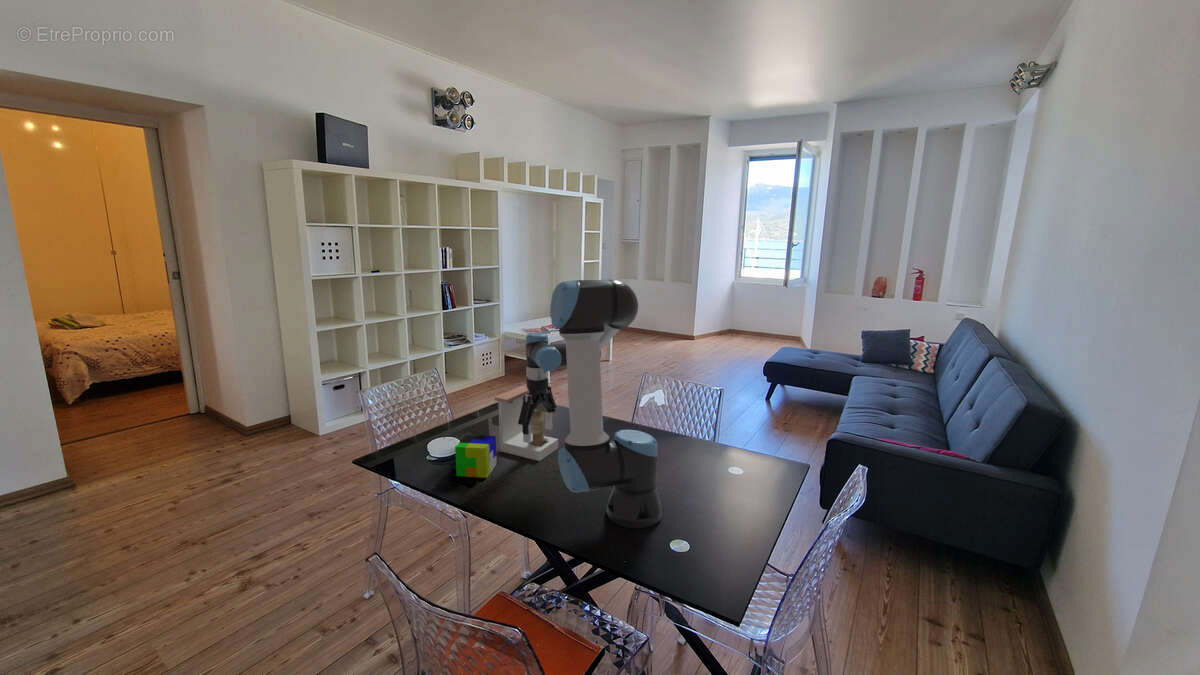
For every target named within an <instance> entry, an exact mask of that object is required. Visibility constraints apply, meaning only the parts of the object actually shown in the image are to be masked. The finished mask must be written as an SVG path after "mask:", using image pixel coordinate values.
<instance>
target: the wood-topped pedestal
mask: <svg viewBox="0 0 1200 675" xmlns="http://www.w3.org/2000/svg"><path fill="white" fill-rule="evenodd" d="M529 393H530V391H529V390H528V389H527V385H520V386H518V387H515V388H513V389H511V390H508V391H506V392H503V393H501V394H499V395H496V396H495V397H494V401H495V402H498V404H497V405H498V425H499V426H498V427H499V428H498V430H499V432H498V433H499V443H500V442H502V443H503V442H505V441H507V440H509V439H511V438H512V437H514V436H516V435H518V434H519V433H521V432H523V426H522V425H520V424H518V421H519V417H520V413H521V409H522V405H523V397H524V395H526V396H528V395H529Z"/></svg>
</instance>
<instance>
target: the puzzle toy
mask: <svg viewBox="0 0 1200 675" xmlns="http://www.w3.org/2000/svg"><path fill="white" fill-rule="evenodd" d="M496 437H497V436H496V435H483V434H482V435H481V434H479V435H478V434H466V435H465V436H464V437H463V438H462V439H461V440H460V441H459V442H458V443H457V444H456V445H455V447H454V450H455V452H454V454H455V470H456V472H455V473H456V477H465V478H466V477H467V478H481V479H482V478H483V479H487V478H488V477H489V476H490V474H491V472H493V470H494V468H495V467H496V465H497V438H496Z"/></svg>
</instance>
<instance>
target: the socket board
mask: <svg viewBox="0 0 1200 675" xmlns="http://www.w3.org/2000/svg"><path fill="white" fill-rule="evenodd" d="M558 449H559V438H554V437H550V436H545V435H544V445H543V446H541V447H538V446H534V445H533V438H532V432H531V443H526V442H523V432H521V433H519V434H518V435H516V436H514V437H512V438H511V439H509V440H507V441H505V442H503V443H502V442H500V441H499V451H500V452H502V453H506V454H510V455H515V456H518V457H522V458H526V459H529V460H530V459H531V460H534V461H538V462H540V461H542V460H543V459H545V458H547V456H549V455H550V454H551V455H552V453H553V452H555V451H557V450H558Z"/></svg>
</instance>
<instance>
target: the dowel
mask: <svg viewBox="0 0 1200 675" xmlns="http://www.w3.org/2000/svg"><path fill="white" fill-rule="evenodd" d="M531 421H532V422H531V427H532V428H531V433H532V438H533V445H534V446H538V447H541V446H543V445H544V436H545V432H544V431H545V430H544V429H545V428H544V427H545V413H544V411H543V410H542V409H535V410H534V413H533V415H532V418H531Z"/></svg>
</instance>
